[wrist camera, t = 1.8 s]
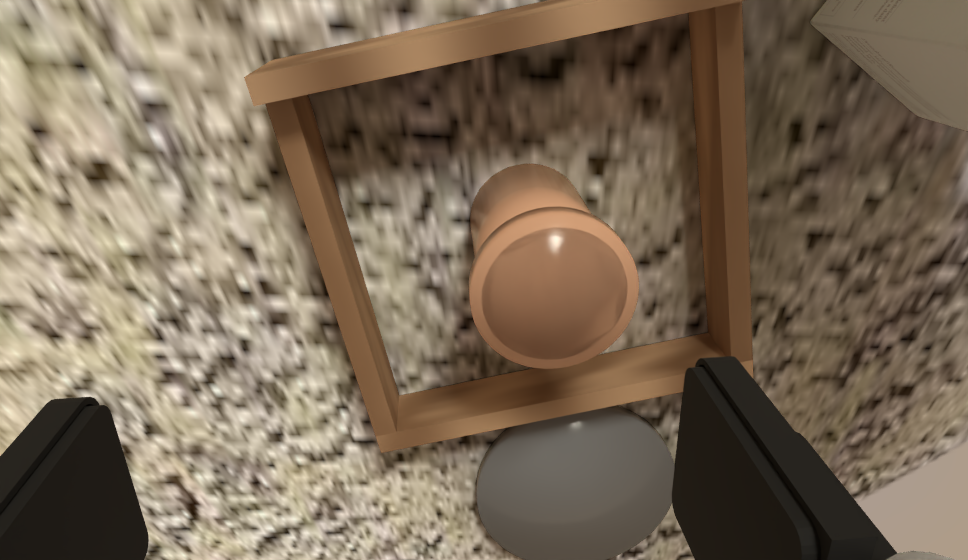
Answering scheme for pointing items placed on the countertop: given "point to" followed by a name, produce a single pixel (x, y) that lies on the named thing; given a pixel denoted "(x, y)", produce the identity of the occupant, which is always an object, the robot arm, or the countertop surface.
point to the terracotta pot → (546, 271)
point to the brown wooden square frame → (533, 392)
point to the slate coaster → (575, 485)
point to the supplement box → (907, 50)
